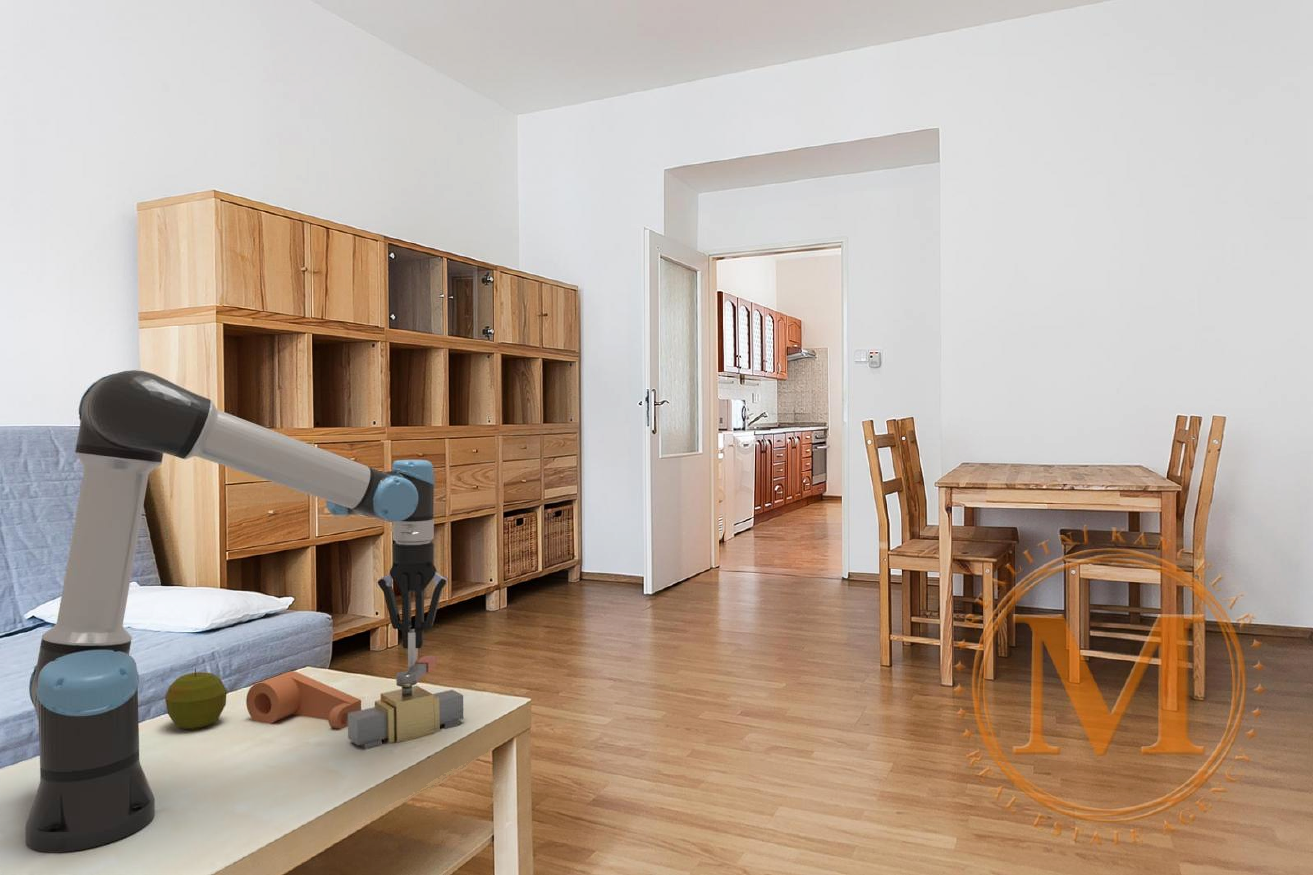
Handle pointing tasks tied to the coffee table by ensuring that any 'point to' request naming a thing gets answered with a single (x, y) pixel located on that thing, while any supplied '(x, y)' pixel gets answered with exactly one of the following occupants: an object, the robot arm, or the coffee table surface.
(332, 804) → the coffee table surface
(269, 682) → the orange bent piece
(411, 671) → the lever
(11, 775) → the coffee table surface
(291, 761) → the coffee table surface
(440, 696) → the grey and tan assembly
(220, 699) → the apple
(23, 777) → the coffee table surface
